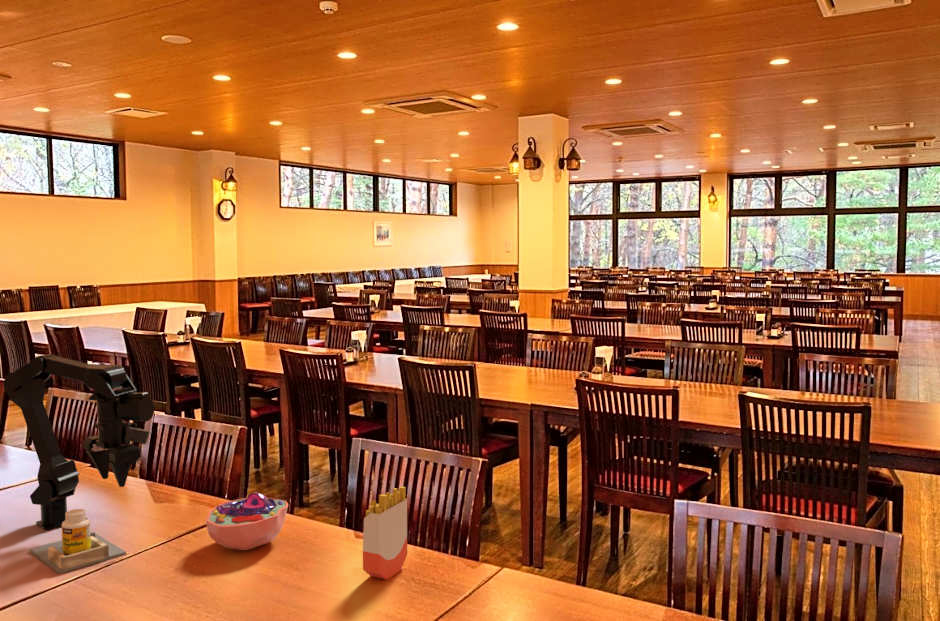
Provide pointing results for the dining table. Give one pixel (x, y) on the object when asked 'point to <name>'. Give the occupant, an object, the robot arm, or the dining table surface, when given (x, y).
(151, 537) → the dining table surface
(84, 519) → the supplement bottle
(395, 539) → the french fries container
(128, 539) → the dining table surface
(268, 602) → the dining table surface
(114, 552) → the board
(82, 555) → the end holder
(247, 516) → the cell model
